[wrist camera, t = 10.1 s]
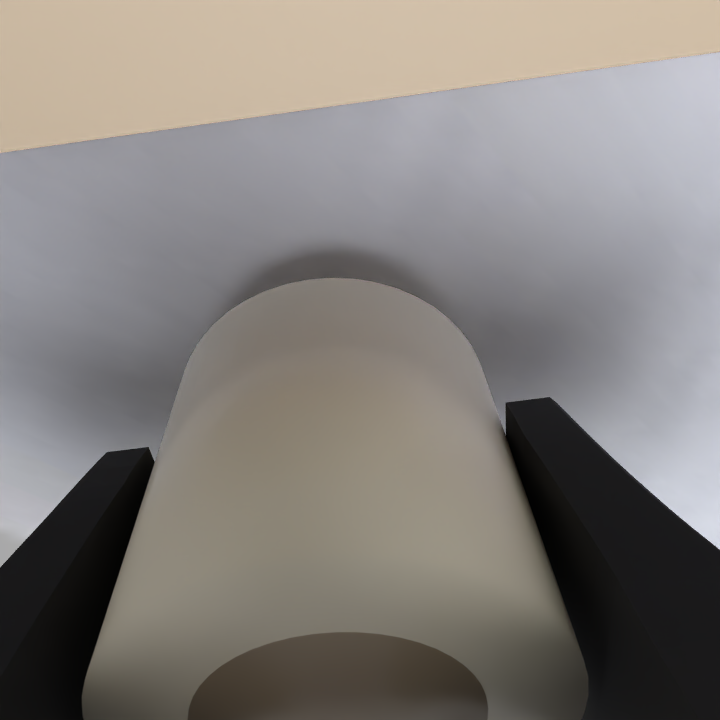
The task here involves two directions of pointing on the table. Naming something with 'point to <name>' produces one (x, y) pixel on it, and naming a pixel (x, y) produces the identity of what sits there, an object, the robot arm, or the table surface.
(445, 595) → the beige hollow cylinder
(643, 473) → the table surface
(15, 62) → the lid
